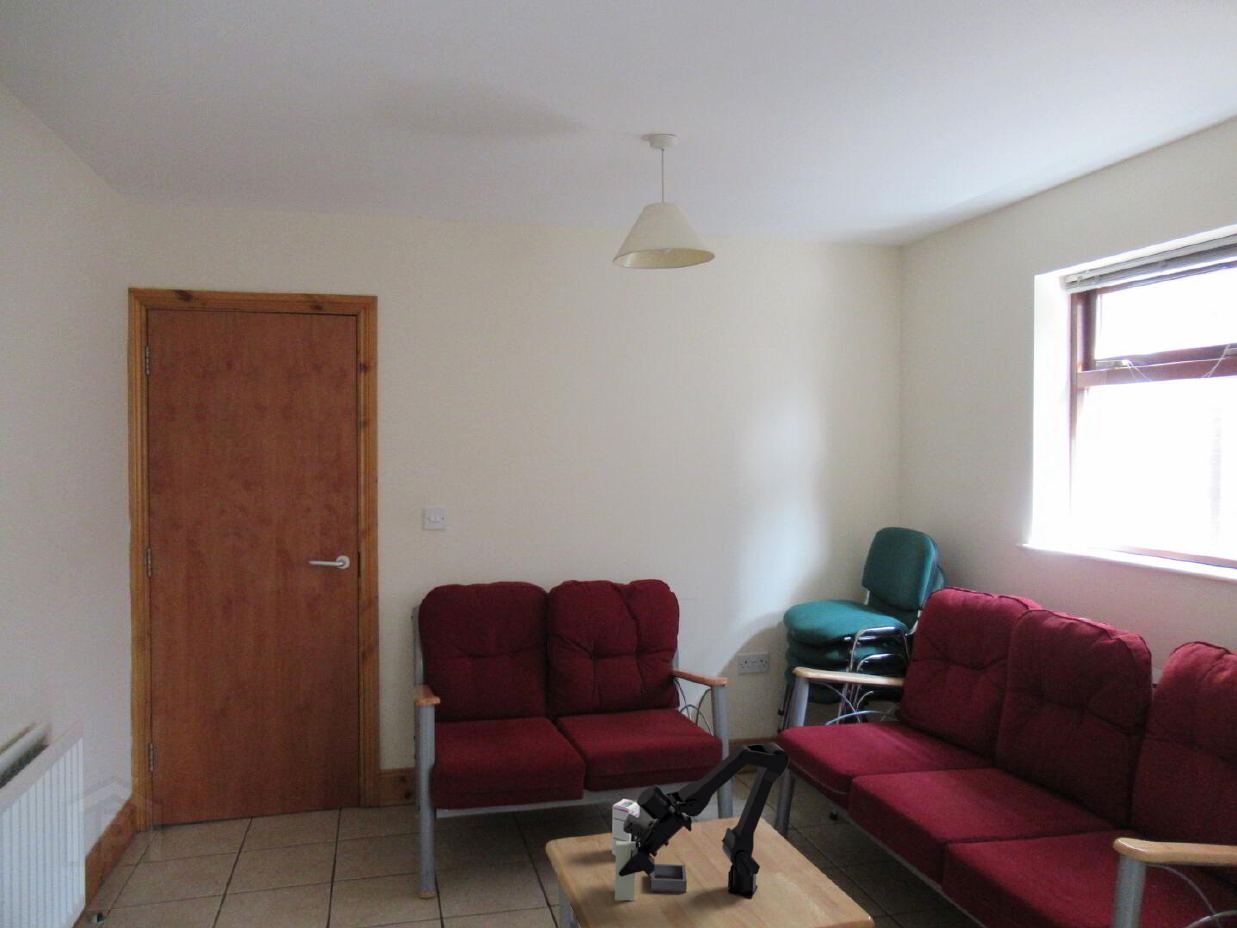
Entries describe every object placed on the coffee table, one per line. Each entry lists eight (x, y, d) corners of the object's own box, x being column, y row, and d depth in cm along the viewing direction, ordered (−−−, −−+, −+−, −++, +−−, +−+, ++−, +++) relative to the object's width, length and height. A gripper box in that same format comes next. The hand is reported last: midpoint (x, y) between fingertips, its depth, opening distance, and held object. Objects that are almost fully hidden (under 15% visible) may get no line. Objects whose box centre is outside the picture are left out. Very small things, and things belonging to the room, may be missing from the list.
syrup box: (628, 860, 251) (630, 808, 250) (611, 854, 254) (612, 803, 253) (639, 852, 255) (640, 802, 255) (621, 847, 259) (623, 797, 258)
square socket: (684, 875, 242) (684, 864, 242) (686, 892, 233) (686, 881, 233) (650, 874, 242) (651, 863, 242) (651, 891, 233) (651, 879, 233)
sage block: (634, 890, 233) (635, 841, 233) (634, 900, 228) (635, 850, 228) (615, 890, 233) (616, 840, 233) (614, 899, 228) (615, 849, 228)
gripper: (642, 792, 240) (599, 831, 240) (642, 821, 221) (596, 863, 221) (670, 822, 240) (628, 861, 240) (673, 854, 221) (627, 896, 221)
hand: (619, 869), depth 231 cm, fingers closed on sage block, 5 cm apart
